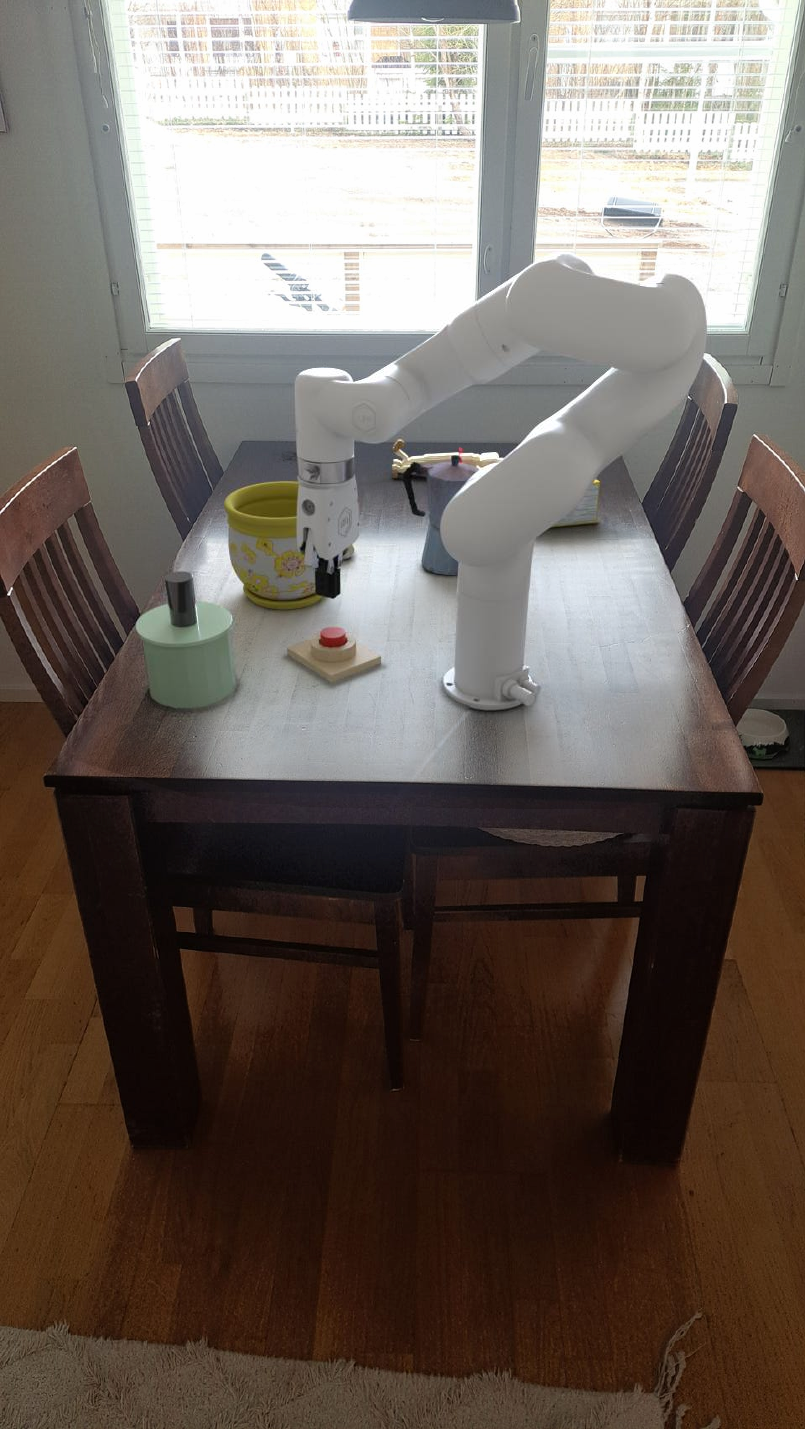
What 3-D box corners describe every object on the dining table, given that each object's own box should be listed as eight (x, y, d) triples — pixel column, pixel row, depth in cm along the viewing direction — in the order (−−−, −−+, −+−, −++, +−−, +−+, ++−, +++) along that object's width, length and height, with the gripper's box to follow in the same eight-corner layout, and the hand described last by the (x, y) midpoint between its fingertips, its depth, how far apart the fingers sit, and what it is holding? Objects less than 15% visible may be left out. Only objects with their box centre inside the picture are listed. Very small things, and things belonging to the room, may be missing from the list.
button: (350, 643, 146) (350, 633, 145) (330, 651, 144) (330, 640, 143) (335, 635, 148) (335, 624, 147) (315, 642, 146) (315, 631, 145)
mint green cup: (251, 679, 143) (246, 616, 138) (203, 719, 134) (196, 652, 129) (183, 662, 148) (175, 600, 142) (132, 699, 138) (122, 634, 133)
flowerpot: (286, 563, 179) (281, 473, 170) (363, 591, 169) (361, 496, 160) (209, 596, 167) (199, 501, 158) (287, 628, 157) (280, 528, 148)
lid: (251, 619, 138) (246, 567, 134) (196, 659, 129) (190, 604, 125) (174, 602, 143) (168, 551, 139) (116, 639, 133) (107, 586, 129)
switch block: (381, 666, 147) (381, 645, 145) (331, 686, 142) (330, 664, 140) (336, 639, 154) (335, 619, 152) (287, 657, 149) (285, 636, 147)
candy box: (592, 520, 198) (597, 478, 193) (597, 523, 196) (601, 482, 192) (514, 527, 194) (517, 485, 190) (518, 531, 192) (521, 489, 188)
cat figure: (392, 487, 217) (509, 481, 215) (389, 447, 213) (508, 440, 210) (396, 473, 226) (508, 466, 223) (393, 434, 221) (507, 427, 218)
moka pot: (483, 580, 173) (489, 466, 162) (396, 573, 175) (395, 460, 165) (490, 559, 181) (496, 449, 170) (406, 552, 183) (407, 443, 173)
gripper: (323, 489, 126) (325, 621, 135) (376, 457, 137) (375, 580, 147) (271, 480, 128) (277, 610, 138) (328, 448, 140) (330, 570, 149)
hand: (328, 594), depth 142 cm, fingers closed
